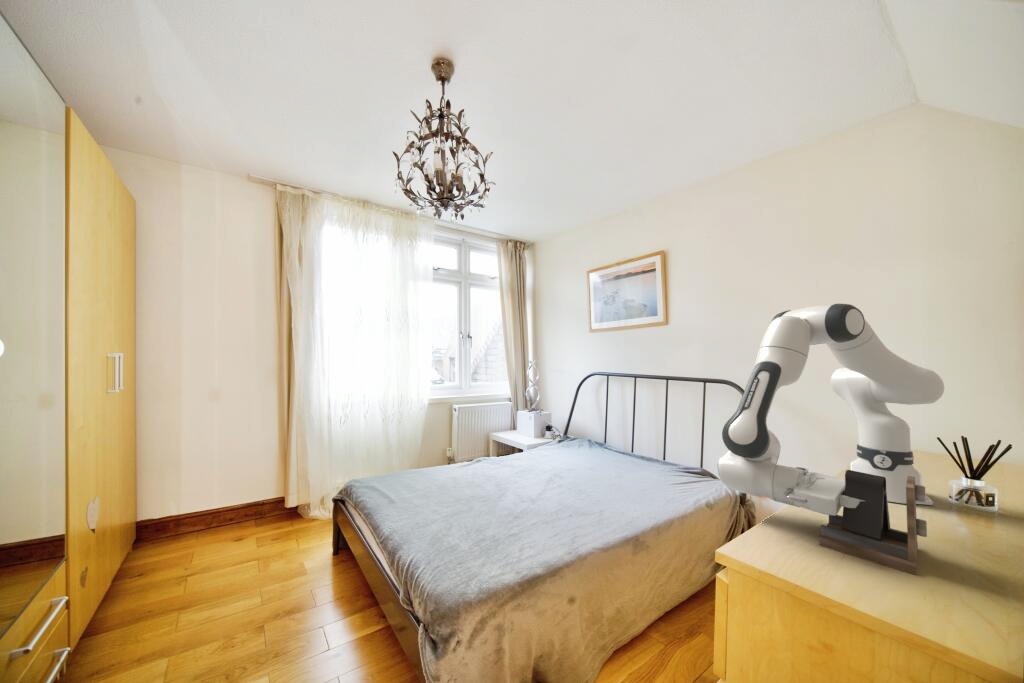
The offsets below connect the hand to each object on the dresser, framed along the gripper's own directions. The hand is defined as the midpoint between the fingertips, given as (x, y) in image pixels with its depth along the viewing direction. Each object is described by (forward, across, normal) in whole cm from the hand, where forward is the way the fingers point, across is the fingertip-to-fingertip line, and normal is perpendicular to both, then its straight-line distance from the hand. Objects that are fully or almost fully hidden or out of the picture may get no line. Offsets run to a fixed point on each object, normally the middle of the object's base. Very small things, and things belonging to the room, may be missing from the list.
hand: (872, 504), depth 77 cm
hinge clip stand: (-1, 0, +9) cm, 9 cm away
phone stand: (-1, 0, +6) cm, 6 cm away
